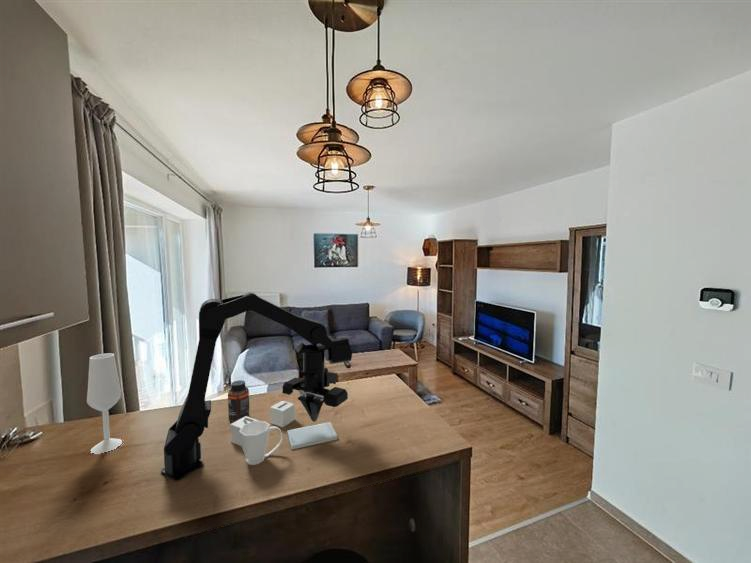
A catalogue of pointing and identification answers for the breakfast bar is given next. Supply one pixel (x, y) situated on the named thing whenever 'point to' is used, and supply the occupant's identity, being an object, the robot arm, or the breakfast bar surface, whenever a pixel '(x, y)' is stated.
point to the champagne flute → (103, 395)
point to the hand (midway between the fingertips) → (314, 420)
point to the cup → (256, 441)
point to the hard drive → (311, 435)
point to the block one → (282, 413)
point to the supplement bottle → (238, 401)
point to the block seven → (236, 428)
